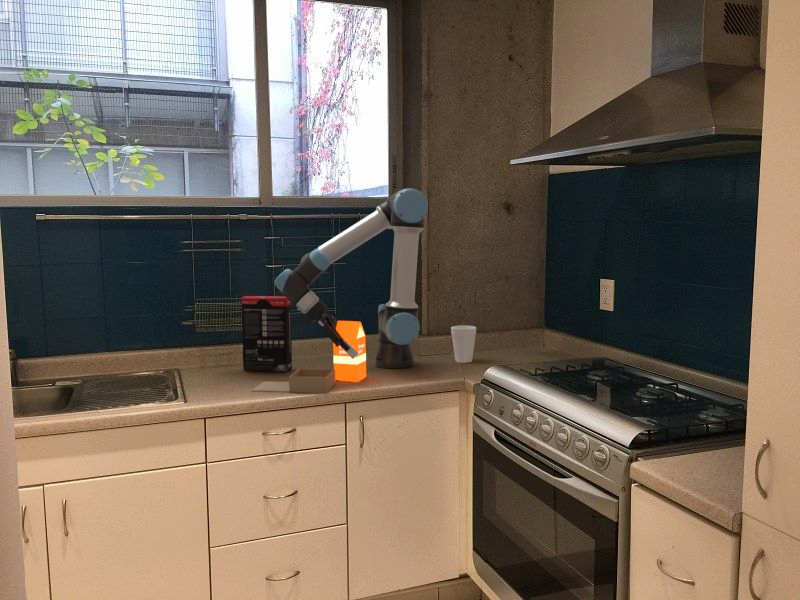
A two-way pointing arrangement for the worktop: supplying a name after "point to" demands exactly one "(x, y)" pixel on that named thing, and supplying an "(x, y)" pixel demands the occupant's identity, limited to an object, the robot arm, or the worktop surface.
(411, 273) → the robot arm
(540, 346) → the worktop surface
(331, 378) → the kraft mailer box
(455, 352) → the foam cup
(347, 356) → the orange juice
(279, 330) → the graphics card box
